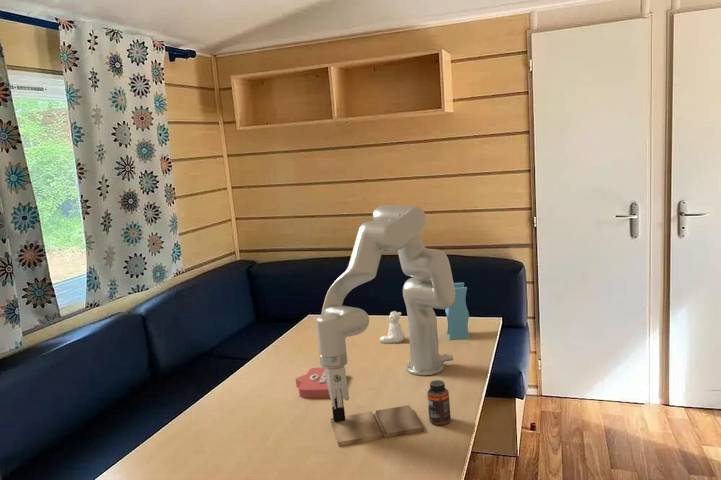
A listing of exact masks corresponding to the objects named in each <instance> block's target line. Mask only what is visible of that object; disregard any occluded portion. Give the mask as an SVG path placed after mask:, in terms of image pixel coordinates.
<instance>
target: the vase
mask: <svg viewBox="0 0 721 480" xmlns="http://www.w3.org/2000/svg"><path fill="white" fill-rule="evenodd" d="M454 288H455V300H454V303H453V305H452V306H451V307H450V308H447V309H444V310H445V315H446V319H447V328H446V329H447V330H446V335H448V336H449V341H454V340H469V338H470V333H469V326H468V325H469V319H470V313H469V310H468V307H467V302H466V296H467V290H468V287H467V286H465V282H454Z"/></svg>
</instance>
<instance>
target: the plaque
mask: <svg viewBox="0 0 721 480" xmlns="http://www.w3.org/2000/svg"><path fill="white" fill-rule="evenodd" d="M295 385H296V388H297V389H298V394H299V397H300V398H302V399H331V398H330V395H329V392H328V388H327V382H326V374H325V368H323V367H312V368H310V369H309V370H308V371H307V373H306V374H303V375H301V376H298V377H296V378H295Z"/></svg>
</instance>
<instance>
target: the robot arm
mask: <svg viewBox="0 0 721 480" xmlns="http://www.w3.org/2000/svg"><path fill="white" fill-rule="evenodd" d="M426 223H427V217H426V213H425V211H424V210H423V209H422V208H421V207H419V206H417V205H394V204H391V205H386V204H385V205H380V206H378V207H376V208H375V209H374V210H373V212H372V220H371V221H365V222H363V223H362V224H361V225H360V226H359V228H358V231H357V234H356V238H355V241H354V244H353V248H352V252H351V255H350V259H349V262H348V265H347V267H346V269H345V271H343V272H342V274H340V275H339V276H338V277H337V278H336V280H334V282H333V283H332V284H331V285H330V287H329V289H328V290H327V292H326V295H325V297H324V301H323V305H322V308H321V313H320V316H318V317H317V319H316V320H315V321H316V322H315V323H316V325H315V327H316V334H317V343H318V344H317V345H318V355H319V365H320V366H321V367H320V368H322V367H323V368H325V374H326V382H327V388H328V392H329V395H330V398H329V399H330V400H331V404H332V406H331V408H332V418H333V419H334V422H339V421H344V420H345V416H346V413H345V406H344V401H349V400H350V396H349V389H348V388H349V387H348V380H347V373H346V368H345V366H346V365H347V364H348V352H347V344H346V343H347V342H346V338H348V337H354V336H358V335H361V334H363V333H364V332H365V331H366V330H367V329H368V327H369V324H370V317H369V316H370V315H369V314H368V313H367V312H366V311H365V310H363V309H362V308H359V307H354V306H353V307H352V306H347V305H343V303H344V300H345V299H346V297H347V295H348V294H349V293H350V292H351V291H352V290H353V289H355V288H357V287H358V286H361V285H363V284H365V283H367V282H370V281H372V280H373V279H375V278H376V276H377V272H378V269H379V265H380V261H381V258H382V254H383V251H390V252H397V254H398V259H399V262H400V267H401V271H402V272H403V274H405V276H406V277H407V276H408V277H410V278H408V279H407V280H406V281H404V284H403V286H402V297H403V300H404V303H405V307H406V313H407V324H408V340H409V353H410V362H408V363H407V364H406V371H407V372H408V373H410V374H412V375H417V376H432V375H437V374H439V373H441V372H442V371H443V370H445V362H451V361H452V362H453V361H454V356H453V354H449V355H448V354H447V353H442V354H441V353H439V339H438V338H439V337H438V321H437V314H436V312H435V311H434V309H438V310H445V309H447V308H450V307H451V306H452V305H453V303H454V300H455V288H454V283H455V281H454V279H453V274H452V268H451V264H450V260H449V257H448V256H447V254H446V253H445V252H444V251H442V250H440V249H436V248H427V247H426V246H425V245H424V243H423V239H422V235H421V233H422V232H423V230H424V229H425V225H426Z"/></svg>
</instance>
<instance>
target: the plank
mask: <svg viewBox="0 0 721 480" xmlns="http://www.w3.org/2000/svg"><path fill="white" fill-rule="evenodd" d="M373 413H374V412H373V411H366V412H361V413H360V412H359V413H355V414H348V415H345V420H344V421H339V422H334V419H333V417H331V418H330V424H331V427H332V430H333V433H334V436H335V440H336V443H337V446H338V447H340V446H342V447H343V446H348V445H353V444H358V443H365V442H371V441H375V440H382V439H384V437H383V434H382V432H381V430H380V428H379V426H378V424H377V422H376V419H375V417H374V415H373Z"/></svg>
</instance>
